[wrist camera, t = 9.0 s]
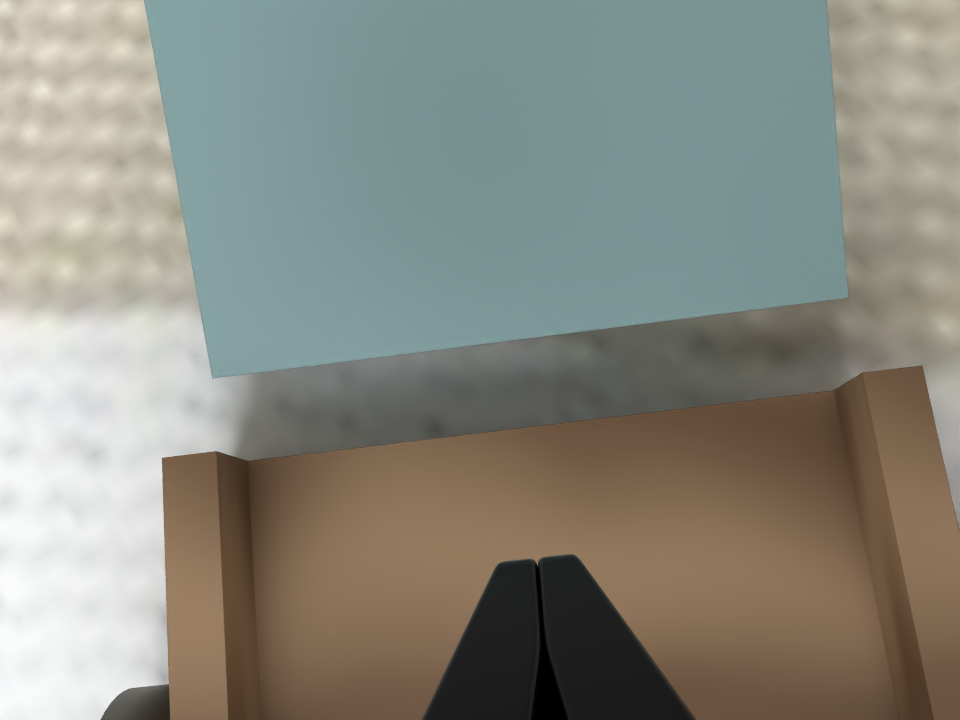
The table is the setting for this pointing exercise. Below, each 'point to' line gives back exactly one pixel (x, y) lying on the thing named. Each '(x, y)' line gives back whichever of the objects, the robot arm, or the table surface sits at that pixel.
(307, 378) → the table surface
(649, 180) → the panel
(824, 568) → the trailer
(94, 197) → the table surface
